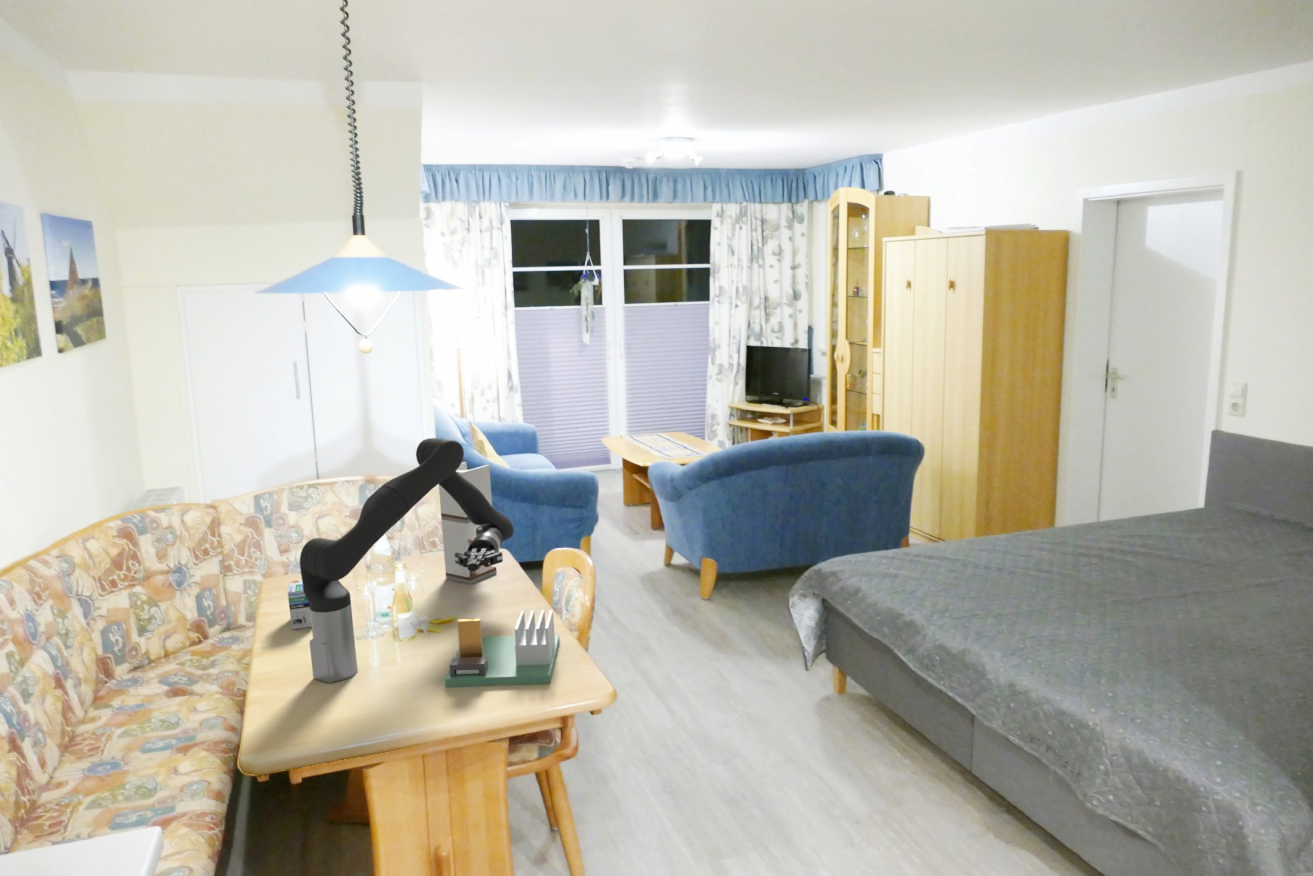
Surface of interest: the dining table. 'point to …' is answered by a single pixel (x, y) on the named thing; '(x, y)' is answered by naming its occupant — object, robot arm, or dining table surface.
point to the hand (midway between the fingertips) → (472, 567)
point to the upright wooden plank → (470, 641)
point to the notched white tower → (463, 526)
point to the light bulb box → (298, 605)
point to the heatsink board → (511, 656)
